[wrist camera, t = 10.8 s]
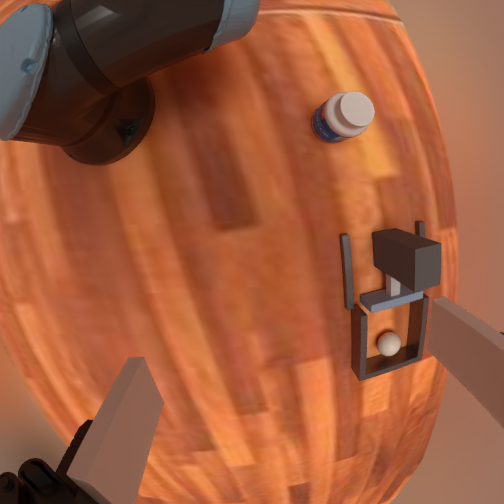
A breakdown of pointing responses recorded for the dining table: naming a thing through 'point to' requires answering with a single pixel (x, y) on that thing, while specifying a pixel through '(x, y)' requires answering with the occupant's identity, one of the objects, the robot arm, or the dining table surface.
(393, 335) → the ball
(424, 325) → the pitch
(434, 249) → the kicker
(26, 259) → the dining table surface
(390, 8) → the dining table surface
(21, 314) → the dining table surface
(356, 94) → the pill bottle
